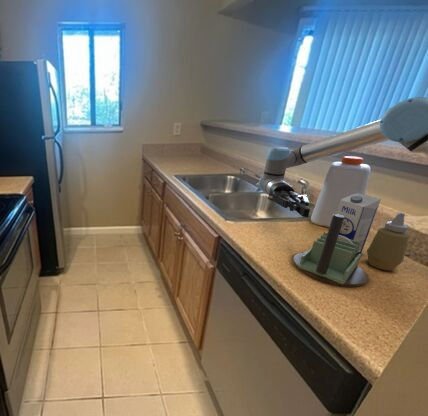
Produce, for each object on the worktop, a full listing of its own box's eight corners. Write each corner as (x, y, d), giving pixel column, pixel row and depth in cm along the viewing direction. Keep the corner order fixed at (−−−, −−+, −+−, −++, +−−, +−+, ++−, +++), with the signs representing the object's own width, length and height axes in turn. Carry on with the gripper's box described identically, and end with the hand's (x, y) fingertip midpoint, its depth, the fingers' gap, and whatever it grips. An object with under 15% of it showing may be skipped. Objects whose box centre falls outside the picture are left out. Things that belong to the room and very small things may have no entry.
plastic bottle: (308, 224, 116) (326, 158, 106) (313, 213, 126) (330, 152, 116) (355, 234, 107) (380, 163, 96) (356, 221, 117) (379, 156, 107)
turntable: (364, 265, 86) (365, 263, 86) (369, 295, 73) (370, 292, 73) (295, 248, 97) (296, 246, 97) (289, 272, 84) (290, 269, 84)
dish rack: (316, 250, 93) (331, 198, 87) (358, 264, 85) (379, 207, 78) (297, 268, 84) (313, 210, 77) (342, 285, 76) (364, 223, 69)
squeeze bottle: (403, 276, 81) (427, 220, 75) (367, 268, 85) (387, 215, 78) (393, 262, 88) (415, 210, 81) (360, 256, 91) (378, 206, 85)
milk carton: (361, 254, 93) (382, 198, 85) (346, 257, 91) (365, 200, 84) (340, 244, 99) (357, 192, 92) (325, 247, 98) (341, 194, 90)
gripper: (296, 201, 109) (326, 225, 87) (260, 199, 111) (281, 222, 90) (300, 182, 106) (333, 203, 84) (263, 181, 109) (286, 200, 87)
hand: (306, 213), depth 87 cm, fingers closed
